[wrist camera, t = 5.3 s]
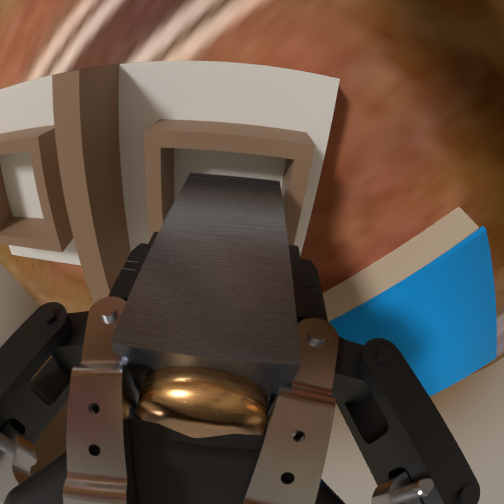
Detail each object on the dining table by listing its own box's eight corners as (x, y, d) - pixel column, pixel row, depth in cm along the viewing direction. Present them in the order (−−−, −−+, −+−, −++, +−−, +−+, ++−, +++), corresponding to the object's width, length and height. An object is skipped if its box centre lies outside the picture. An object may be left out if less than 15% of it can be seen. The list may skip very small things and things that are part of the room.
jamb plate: (332, 77, 13) (367, 86, 9) (289, 275, 22) (296, 334, 17) (-10, 93, 12) (-62, 115, 8) (20, 244, 20) (-12, 284, 16)
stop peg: (279, 180, 13) (303, 398, 5) (268, 252, 15) (270, 448, 7) (190, 172, 13) (98, 373, 5) (190, 245, 15) (140, 433, 7)
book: (485, 226, 15) (499, 358, 26) (455, 197, 18) (487, 334, 29) (286, 347, 22) (390, 417, 32) (283, 307, 25) (384, 391, 36)
